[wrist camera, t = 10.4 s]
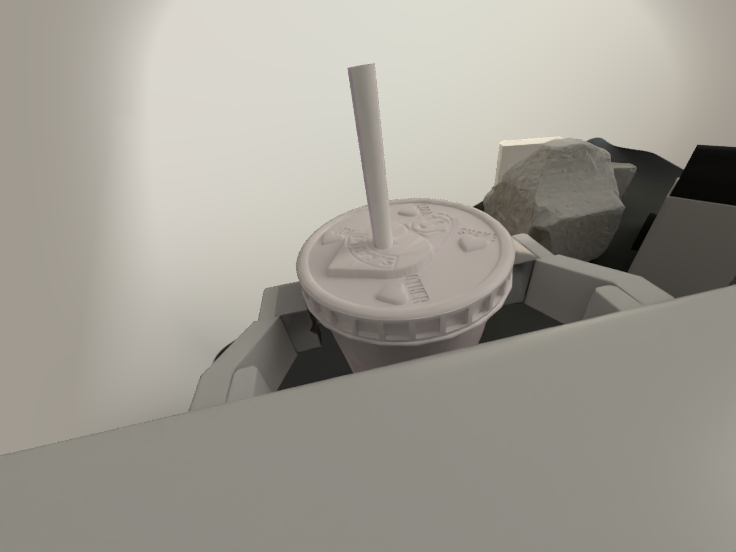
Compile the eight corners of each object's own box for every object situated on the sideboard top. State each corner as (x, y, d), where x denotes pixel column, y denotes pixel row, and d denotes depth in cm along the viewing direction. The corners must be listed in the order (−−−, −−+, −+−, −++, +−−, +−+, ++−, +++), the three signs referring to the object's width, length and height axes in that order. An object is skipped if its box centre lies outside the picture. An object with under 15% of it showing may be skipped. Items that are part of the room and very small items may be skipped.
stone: (521, 283, 38) (549, 166, 28) (477, 237, 47) (488, 139, 38) (605, 265, 38) (660, 144, 29) (545, 223, 48) (572, 123, 39)
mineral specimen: (636, 215, 45) (647, 165, 40) (570, 226, 48) (573, 181, 44) (618, 194, 50) (625, 148, 46) (559, 205, 54) (560, 163, 49)
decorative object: (729, 234, 39) (819, 109, 30) (709, 307, 31) (826, 164, 22) (651, 219, 45) (708, 109, 35) (615, 278, 36) (678, 153, 27)
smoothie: (329, 392, 16) (207, 90, 7) (422, 336, 18) (412, 52, 9) (398, 519, 11) (284, 93, 3) (512, 422, 13) (653, 16, 5)
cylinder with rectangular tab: (493, 225, 50) (503, 152, 42) (488, 202, 56) (496, 136, 49) (552, 224, 47) (574, 147, 40) (540, 200, 54) (557, 131, 47)
